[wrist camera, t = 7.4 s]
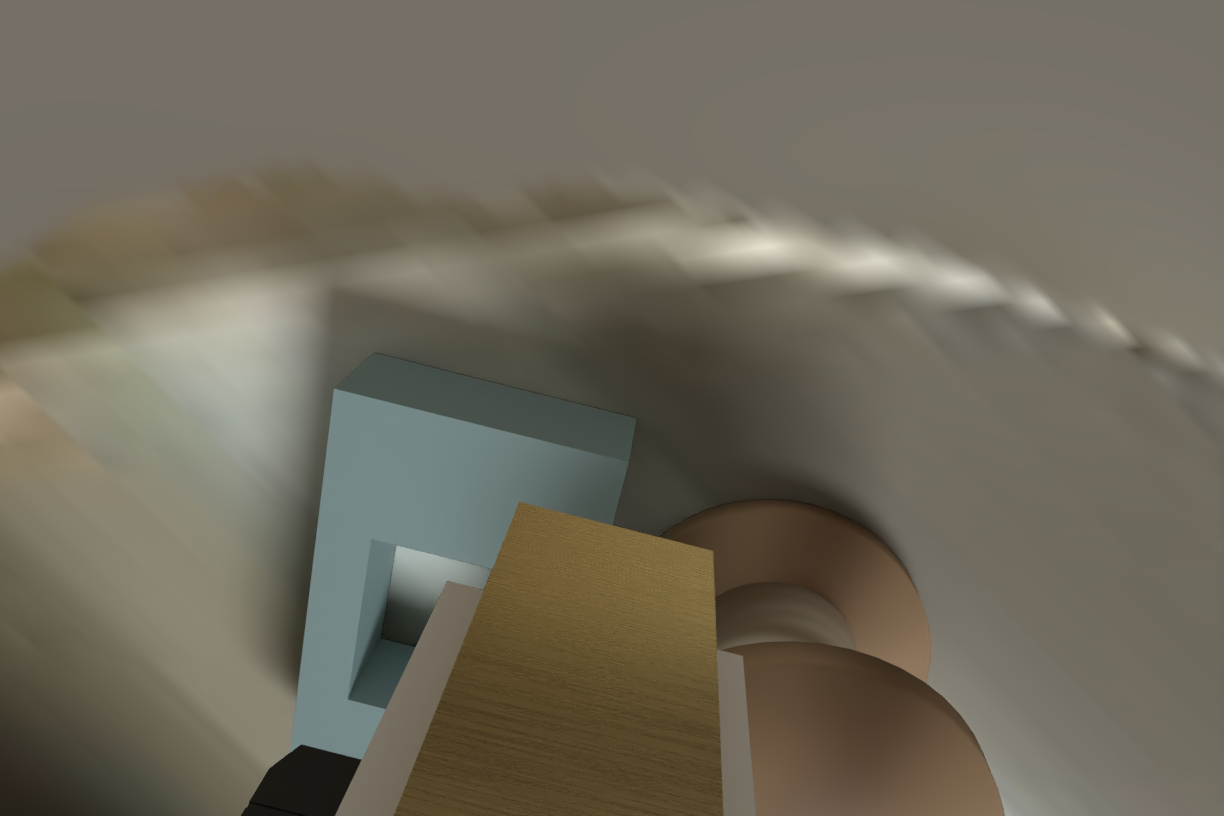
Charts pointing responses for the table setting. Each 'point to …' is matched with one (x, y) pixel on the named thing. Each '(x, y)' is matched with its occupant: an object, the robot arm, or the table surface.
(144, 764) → the table surface
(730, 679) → the robot arm
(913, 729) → the spool
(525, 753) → the tab
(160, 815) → the table surface
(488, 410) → the notch board
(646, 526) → the table surface
